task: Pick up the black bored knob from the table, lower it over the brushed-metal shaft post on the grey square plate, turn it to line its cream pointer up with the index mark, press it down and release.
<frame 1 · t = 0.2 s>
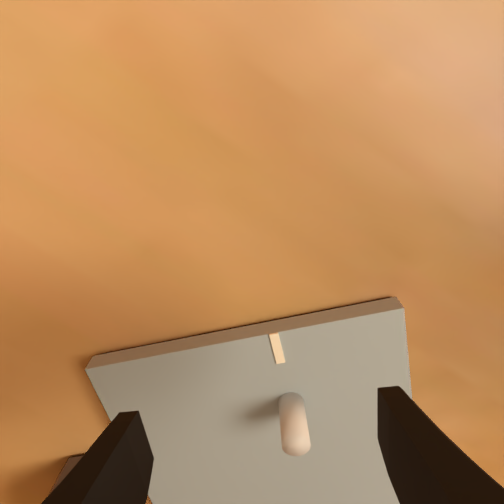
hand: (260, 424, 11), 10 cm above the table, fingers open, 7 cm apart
grey square plate: (267, 427, 24), on the table
knob: (94, 478, 26), on the table
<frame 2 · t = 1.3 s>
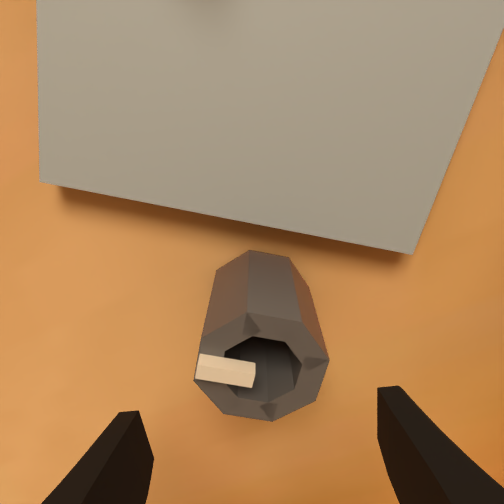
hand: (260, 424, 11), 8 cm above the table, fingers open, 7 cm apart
knob: (259, 295, 18), on the table
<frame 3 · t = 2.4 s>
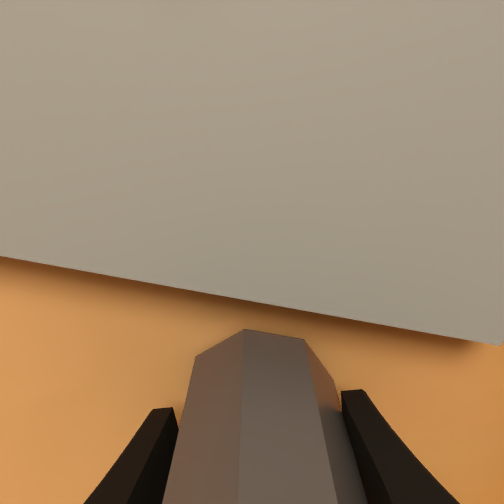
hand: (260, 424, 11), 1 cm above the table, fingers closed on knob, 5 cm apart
knob: (259, 390, 12), on the table, touching gripper
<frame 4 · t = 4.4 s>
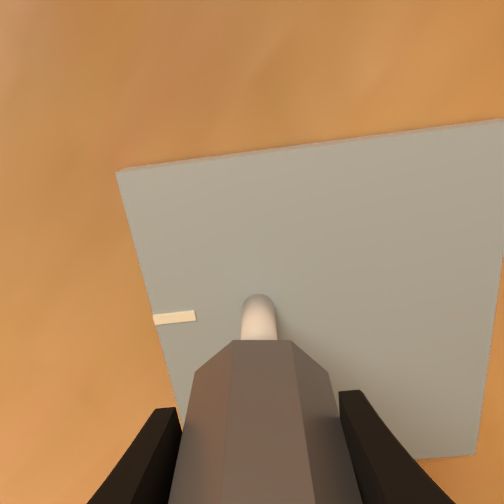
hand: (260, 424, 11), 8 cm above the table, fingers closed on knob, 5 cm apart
grey square plate: (320, 323, 19), on the table
knob: (261, 392, 13), point 6 cm above the table, touching gripper
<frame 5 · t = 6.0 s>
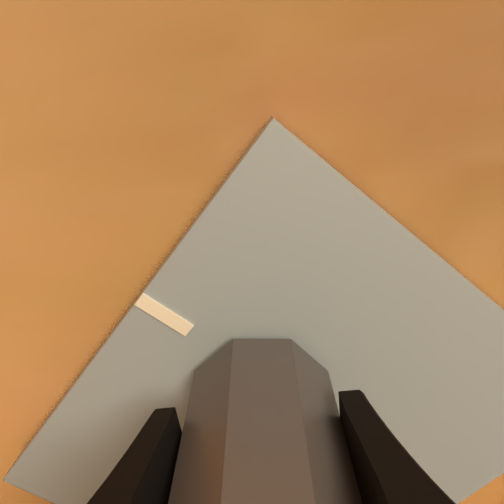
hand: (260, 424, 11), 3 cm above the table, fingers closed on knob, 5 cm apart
grey square plate: (285, 418, 16), on the table
knob: (261, 391, 13), point 2 cm above the table, touching gripper
when the fingers open (3 cm above the table, at t = 6.7 s): knob stays where it is, resting on grey square plate.
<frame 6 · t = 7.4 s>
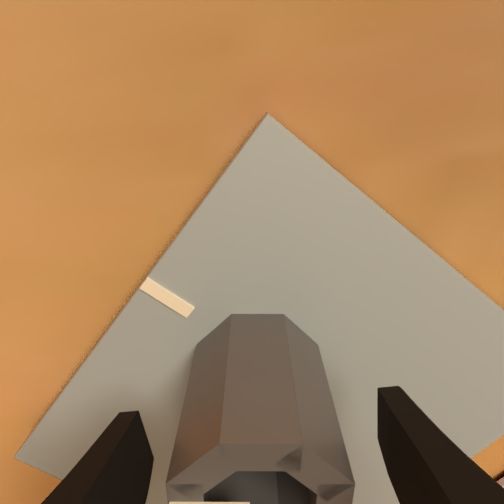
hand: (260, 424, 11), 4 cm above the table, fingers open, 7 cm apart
grey square plate: (281, 398, 17), on the table
knob: (257, 364, 14), point 1 cm above the table, touching grey square plate
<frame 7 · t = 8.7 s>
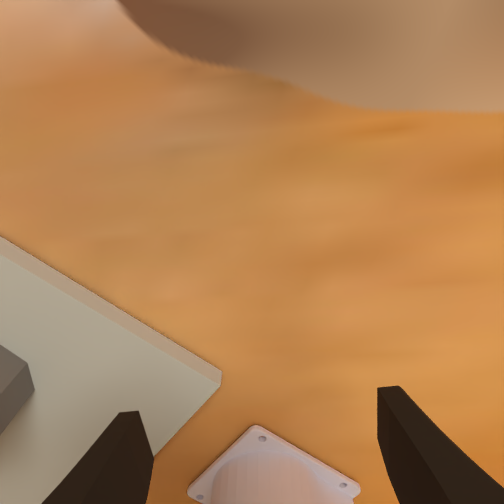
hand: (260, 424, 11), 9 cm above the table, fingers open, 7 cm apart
grey square plate: (33, 399, 23), on the table
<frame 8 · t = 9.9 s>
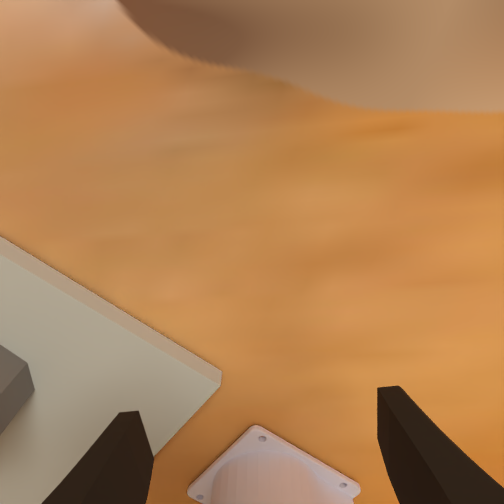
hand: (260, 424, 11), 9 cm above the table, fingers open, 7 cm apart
grey square plate: (33, 399, 23), on the table
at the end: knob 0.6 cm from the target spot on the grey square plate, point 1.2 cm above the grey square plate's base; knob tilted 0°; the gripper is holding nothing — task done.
